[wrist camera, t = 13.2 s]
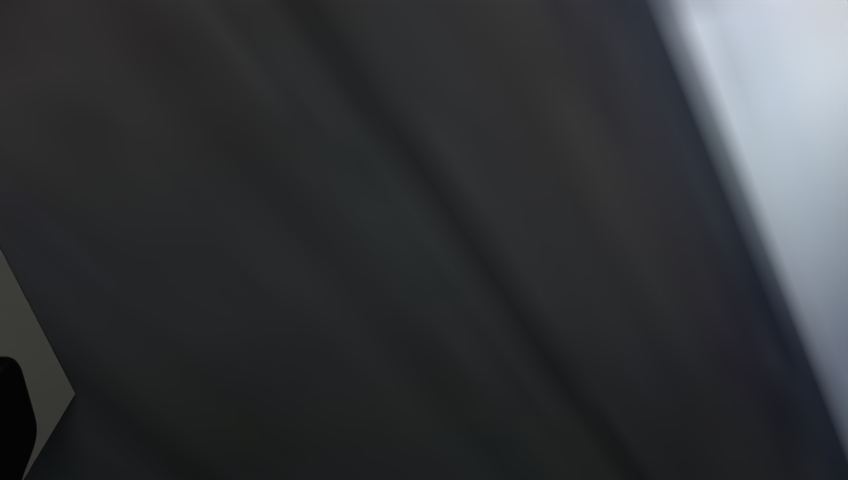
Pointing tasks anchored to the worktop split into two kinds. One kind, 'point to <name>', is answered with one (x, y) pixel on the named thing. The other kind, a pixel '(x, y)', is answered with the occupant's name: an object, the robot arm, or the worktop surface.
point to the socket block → (32, 358)
